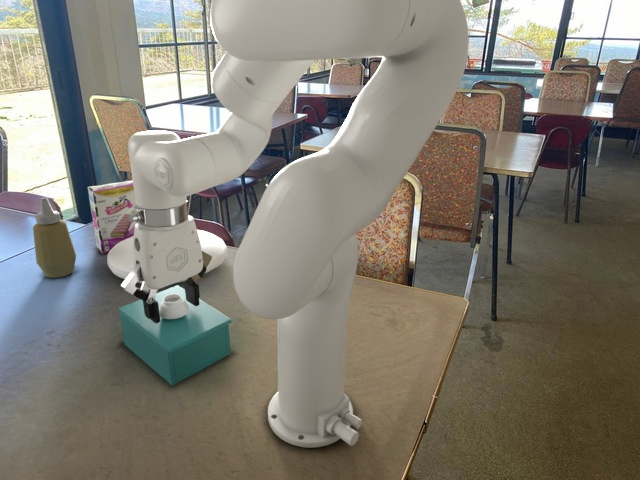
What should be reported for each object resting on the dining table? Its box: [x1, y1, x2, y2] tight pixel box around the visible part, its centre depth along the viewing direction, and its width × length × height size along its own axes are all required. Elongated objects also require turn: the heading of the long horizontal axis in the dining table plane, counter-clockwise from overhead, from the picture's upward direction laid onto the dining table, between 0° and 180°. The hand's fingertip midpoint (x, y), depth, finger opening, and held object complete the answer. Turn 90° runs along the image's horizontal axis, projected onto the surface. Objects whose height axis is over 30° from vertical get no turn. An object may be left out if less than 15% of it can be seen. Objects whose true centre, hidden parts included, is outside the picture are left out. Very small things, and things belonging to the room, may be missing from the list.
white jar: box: [159, 294, 189, 319], centre depth 81 cm, size 5×3×5 cm
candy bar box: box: [87, 180, 138, 254], centre depth 121 cm, size 11×5×16 cm, turn 130°
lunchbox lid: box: [118, 284, 232, 353], centre depth 82 cm, size 16×12×1 cm
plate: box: [106, 229, 228, 284], centre depth 114 cm, size 28×6×27 cm
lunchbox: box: [118, 311, 231, 386], centre depth 84 cm, size 16×12×7 cm
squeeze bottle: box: [32, 196, 77, 279], centre depth 106 cm, size 8×8×18 cm
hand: (173, 310), depth 82 cm, fingers open, 6 cm apart
